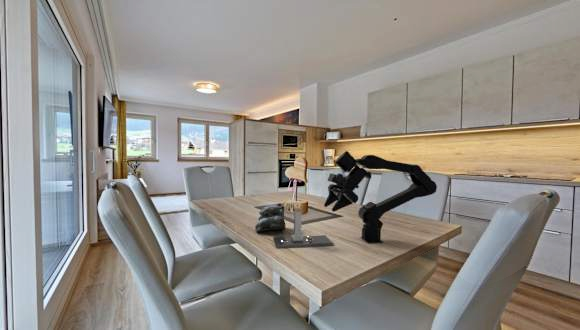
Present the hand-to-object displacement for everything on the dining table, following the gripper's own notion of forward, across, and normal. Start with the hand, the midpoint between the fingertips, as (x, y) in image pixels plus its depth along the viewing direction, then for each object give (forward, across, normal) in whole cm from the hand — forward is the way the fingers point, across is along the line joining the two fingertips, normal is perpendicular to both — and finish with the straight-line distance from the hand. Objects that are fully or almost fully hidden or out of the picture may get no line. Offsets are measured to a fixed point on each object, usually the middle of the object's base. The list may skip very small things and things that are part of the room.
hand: (328, 208), depth 94 cm
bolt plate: (+17, 0, +1) cm, 17 cm away
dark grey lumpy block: (+24, -17, -7) cm, 31 cm away
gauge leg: (+17, 0, -1) cm, 17 cm away
